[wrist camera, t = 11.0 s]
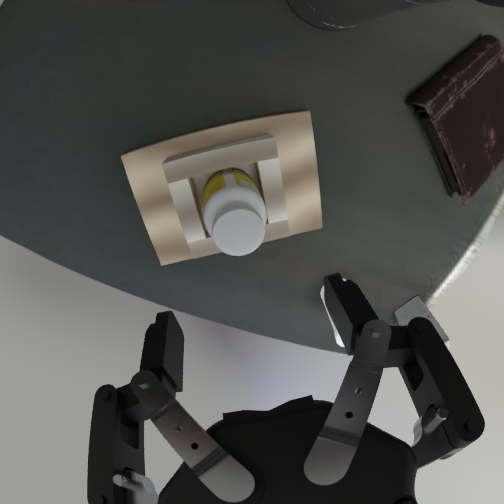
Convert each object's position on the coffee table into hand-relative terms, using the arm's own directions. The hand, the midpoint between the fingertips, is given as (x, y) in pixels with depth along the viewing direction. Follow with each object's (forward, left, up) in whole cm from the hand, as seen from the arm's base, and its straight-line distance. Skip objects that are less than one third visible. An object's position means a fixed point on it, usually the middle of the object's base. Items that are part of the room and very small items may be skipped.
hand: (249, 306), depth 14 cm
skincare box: (+30, +28, -19) cm, 45 cm away
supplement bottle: (0, 0, -18) cm, 18 cm away
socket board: (0, 0, -19) cm, 19 cm away
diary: (-7, +39, -20) cm, 44 cm away
